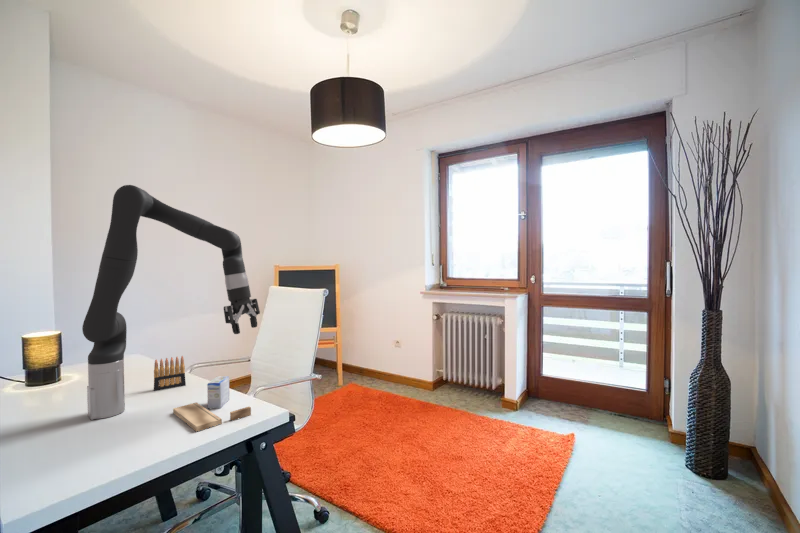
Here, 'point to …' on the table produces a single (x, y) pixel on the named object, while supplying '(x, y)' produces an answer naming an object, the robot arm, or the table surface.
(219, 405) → the medicine box
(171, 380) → the ammunition clip
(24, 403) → the table surface
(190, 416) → the board
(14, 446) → the table surface
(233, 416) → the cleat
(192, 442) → the table surface
